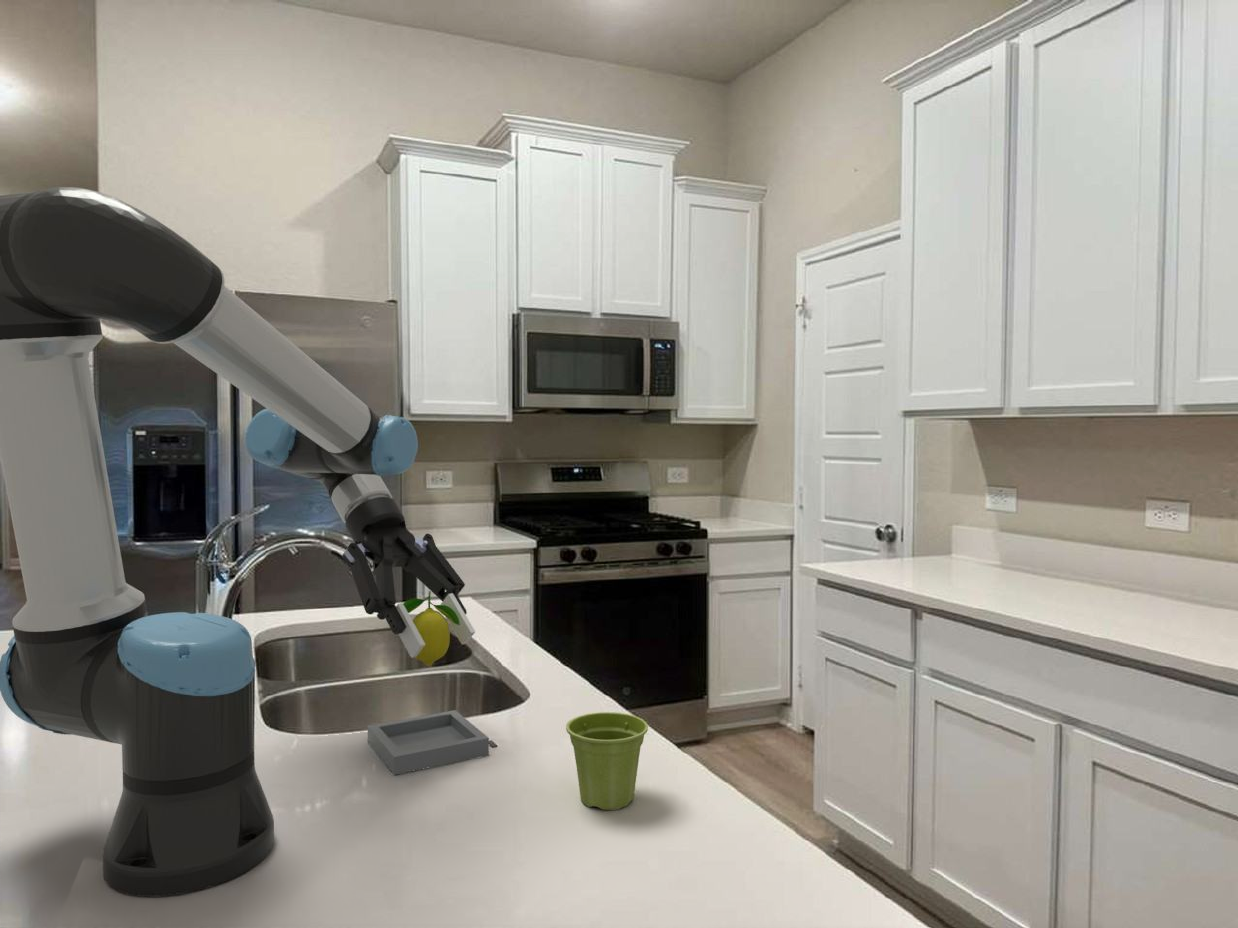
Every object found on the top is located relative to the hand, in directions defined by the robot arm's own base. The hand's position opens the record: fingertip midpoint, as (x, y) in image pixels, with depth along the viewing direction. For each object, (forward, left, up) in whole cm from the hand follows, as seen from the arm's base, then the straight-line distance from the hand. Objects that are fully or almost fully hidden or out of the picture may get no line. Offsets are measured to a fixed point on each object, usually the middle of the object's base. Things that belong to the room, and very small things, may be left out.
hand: (444, 644), depth 108 cm
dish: (+3, +1, -15) cm, 15 cm away
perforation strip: (+4, -7, -15) cm, 16 cm away
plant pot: (-22, -12, -15) cm, 29 cm away
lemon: (+3, +1, -4) cm, 5 cm away
